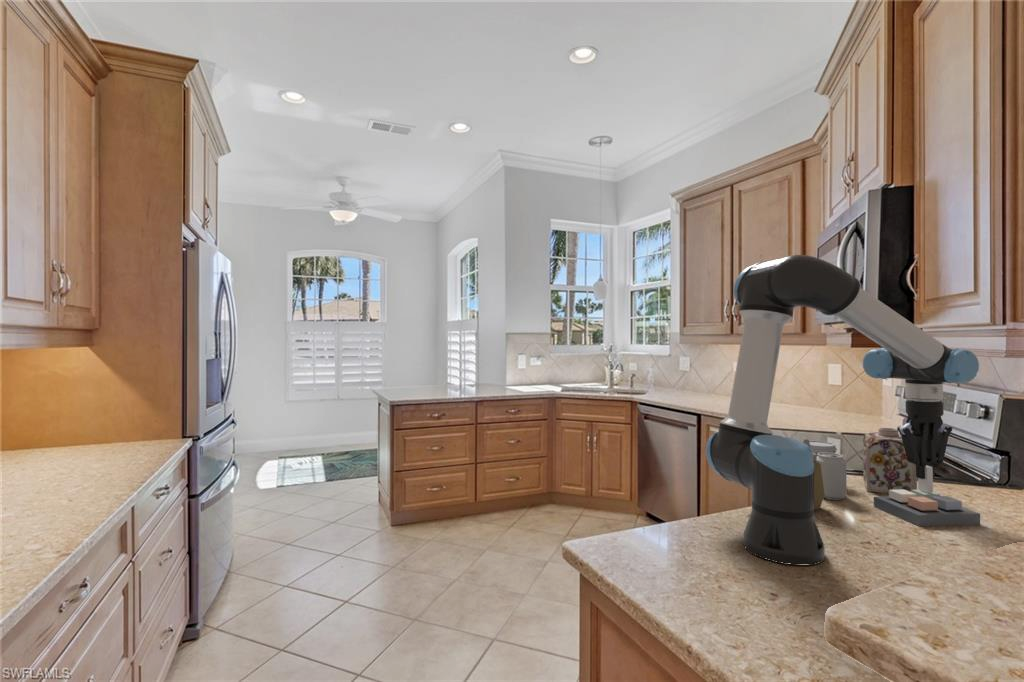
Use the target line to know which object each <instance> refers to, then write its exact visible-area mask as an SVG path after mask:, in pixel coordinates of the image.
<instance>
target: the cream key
mask: <svg viewBox="0 0 1024 682" xmlns="http://www.w3.org/2000/svg"><path fill="white" fill-rule="evenodd" d="M888 496H889V498H892V499H894V500H897V501H898V503H899V504H908V497H917V494H915V493H912V492H910V491H907V490H904V489H898V490H889V494H888Z"/></svg>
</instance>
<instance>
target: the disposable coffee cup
mask: <svg viewBox="0 0 1024 682" xmlns="http://www.w3.org/2000/svg"><path fill="white" fill-rule="evenodd" d="M809 442H810V446H811V450H812V452H813V453H816V454H818V453H821V452H828V453H836V452H837V450H838V448H837V447H836V444H835V443H833V442H829V441H821V440H809ZM817 456H818V455H817Z"/></svg>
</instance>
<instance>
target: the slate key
mask: <svg viewBox="0 0 1024 682" xmlns="http://www.w3.org/2000/svg"><path fill="white" fill-rule="evenodd" d="M931 499H932V500H934V501H937V502H938V507H940V508H941V510H942V511H944V512H952V510H961V509H962V507H963V501H962V500H960V499H957V498H954V497H951V496H948V495H940V496H931Z"/></svg>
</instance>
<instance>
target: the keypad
mask: <svg viewBox="0 0 1024 682" xmlns="http://www.w3.org/2000/svg"><path fill="white" fill-rule="evenodd" d="M873 507H874V508H877V509H879V510H881V511H883V512H885V513H888V514H891V515H892V516H894V517H896V518H897V517H898V518H900V519H901V520H904V521H906V522H909V523H911V524H913V525H916V526H918V527H935V526H936V527H940V526H941V527H942V526H943V527H944V526H976V525H977V526H980V525H981V513H979V512H977V511H973V510H971V509H968V508H965V507H963V506H962V509H961V510H952V512H944V511H942V510H941V508H940V507H938V510H928V513H921V512H919V511H918V509H917V508H914V507H912V506H909V505H908V504H899V503H898V501H897V500H894V499H892V498H889V495H888V496H887V495H886V496H883V495H882V496H873Z"/></svg>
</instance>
